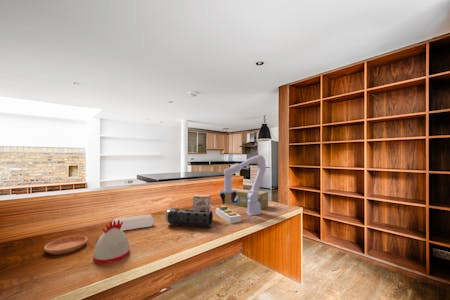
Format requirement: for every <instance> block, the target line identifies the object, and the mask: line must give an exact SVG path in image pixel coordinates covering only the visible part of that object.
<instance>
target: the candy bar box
mask: <svg viewBox="0 0 450 300" xmlns="http://www.w3.org/2000/svg"><path fill="white" fill-rule="evenodd" d="M192 199H193V202H192V203H193V205H192V206H193V209H192V210H201V211H211V195H209V194H208V195H207V194H194V195H193V198H192Z"/></svg>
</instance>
